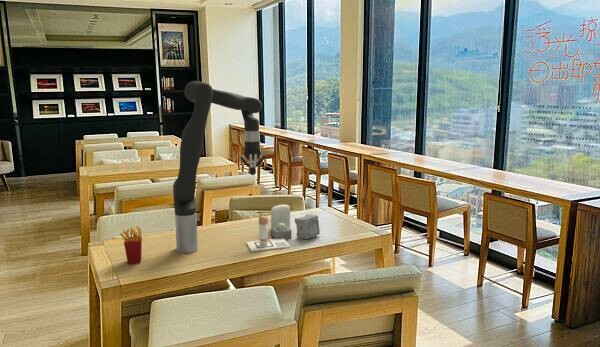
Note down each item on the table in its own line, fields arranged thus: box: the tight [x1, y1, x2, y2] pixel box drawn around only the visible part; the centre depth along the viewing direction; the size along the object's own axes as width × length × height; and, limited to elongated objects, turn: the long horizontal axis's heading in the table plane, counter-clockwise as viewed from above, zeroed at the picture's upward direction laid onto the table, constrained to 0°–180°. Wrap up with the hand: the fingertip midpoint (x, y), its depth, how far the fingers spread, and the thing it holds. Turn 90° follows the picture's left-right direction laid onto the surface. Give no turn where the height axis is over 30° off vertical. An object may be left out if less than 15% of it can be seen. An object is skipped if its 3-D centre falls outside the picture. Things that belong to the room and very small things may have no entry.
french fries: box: [119, 225, 143, 265], centre depth 198 cm, size 9×8×15 cm
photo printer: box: [270, 204, 291, 228], centre depth 240 cm, size 10×4×12 cm, turn 123°
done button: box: [278, 223, 285, 230], centre depth 228 cm, size 3×3×6 cm
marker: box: [258, 215, 269, 246], centre depth 215 cm, size 4×4×13 cm
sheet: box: [246, 238, 291, 253], centre depth 217 cm, size 18×11×1 cm, turn 107°
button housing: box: [270, 225, 292, 240], centre depth 229 cm, size 8×8×4 cm
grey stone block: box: [294, 214, 321, 240], centre depth 228 cm, size 10×8×10 cm
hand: (252, 174), depth 231 cm, fingers closed
